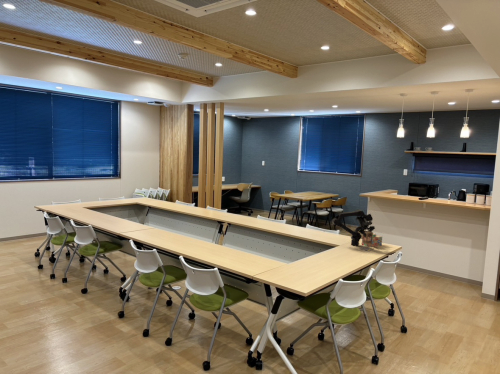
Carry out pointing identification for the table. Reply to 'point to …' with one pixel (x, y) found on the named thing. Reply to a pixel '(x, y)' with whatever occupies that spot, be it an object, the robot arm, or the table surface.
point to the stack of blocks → (374, 241)
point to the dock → (366, 248)
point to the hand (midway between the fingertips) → (368, 236)
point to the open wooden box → (368, 234)
